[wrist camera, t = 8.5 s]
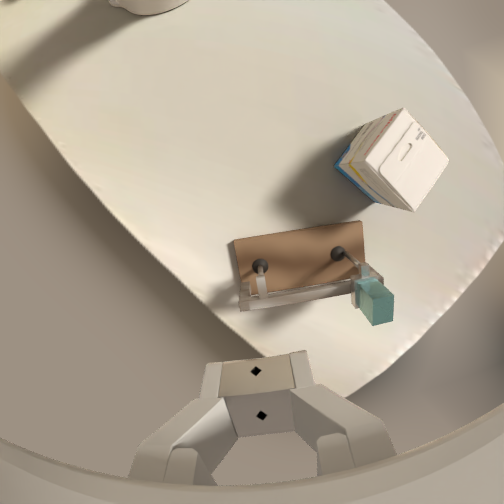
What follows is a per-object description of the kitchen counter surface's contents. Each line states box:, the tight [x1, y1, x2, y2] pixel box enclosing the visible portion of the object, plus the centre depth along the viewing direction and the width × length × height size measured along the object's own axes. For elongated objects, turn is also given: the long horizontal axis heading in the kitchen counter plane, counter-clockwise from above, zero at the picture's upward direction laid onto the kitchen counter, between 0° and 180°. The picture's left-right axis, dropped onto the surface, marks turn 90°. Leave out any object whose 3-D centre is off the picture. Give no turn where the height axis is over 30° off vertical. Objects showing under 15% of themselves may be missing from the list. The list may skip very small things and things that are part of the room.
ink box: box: [334, 108, 449, 212], centre depth 32 cm, size 9×8×12 cm
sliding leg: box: [343, 251, 394, 326], centre depth 33 cm, size 5×3×13 cm, turn 10°
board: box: [234, 220, 384, 312], centre depth 37 cm, size 8×18×8 cm, turn 99°
